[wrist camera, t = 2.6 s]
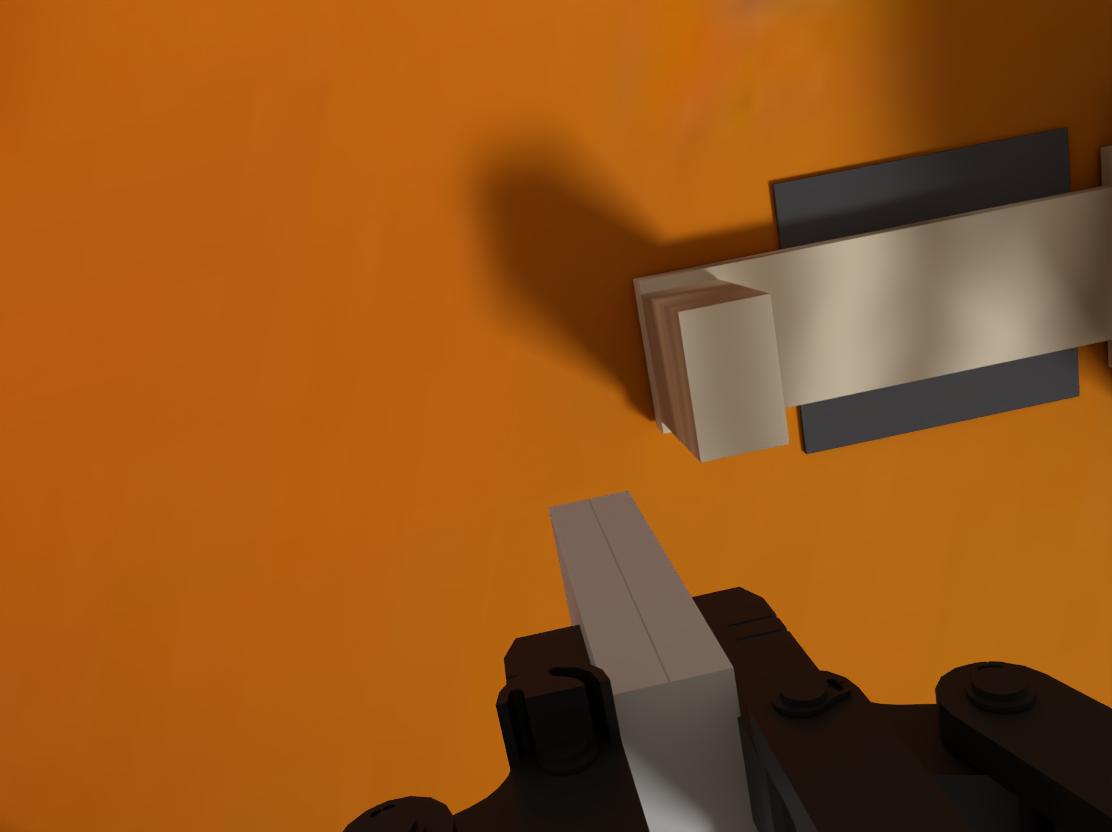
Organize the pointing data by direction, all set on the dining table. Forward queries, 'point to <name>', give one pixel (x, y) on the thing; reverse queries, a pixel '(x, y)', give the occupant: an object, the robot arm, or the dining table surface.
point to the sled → (872, 314)
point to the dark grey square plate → (911, 198)
